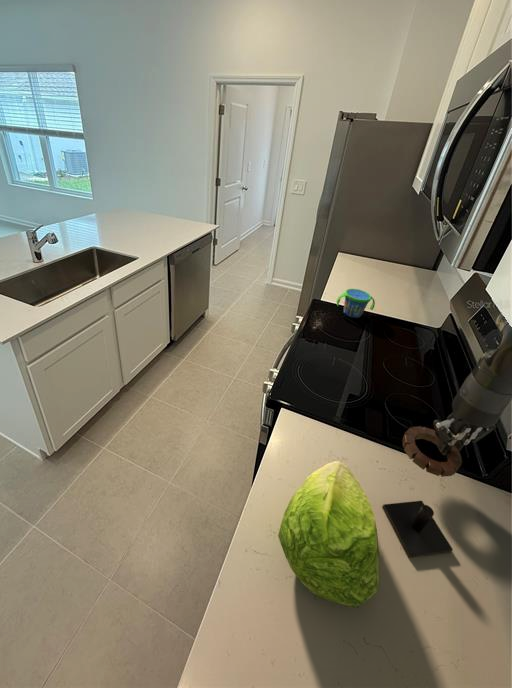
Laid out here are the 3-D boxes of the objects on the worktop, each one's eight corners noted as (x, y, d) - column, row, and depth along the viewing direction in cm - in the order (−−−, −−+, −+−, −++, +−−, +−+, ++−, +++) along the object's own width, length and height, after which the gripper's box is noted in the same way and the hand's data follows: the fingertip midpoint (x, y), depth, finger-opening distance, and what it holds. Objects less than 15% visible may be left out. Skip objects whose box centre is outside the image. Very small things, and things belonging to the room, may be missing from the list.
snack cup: (368, 310, 140) (374, 291, 135) (372, 323, 131) (380, 302, 126) (332, 305, 142) (338, 286, 137) (335, 317, 133) (340, 297, 128)
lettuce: (378, 505, 67) (388, 454, 62) (374, 644, 47) (388, 584, 42) (300, 477, 74) (303, 429, 70) (268, 586, 54) (269, 529, 49)
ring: (434, 430, 75) (437, 425, 74) (470, 474, 66) (474, 468, 65) (392, 433, 74) (395, 427, 73) (422, 478, 65) (426, 472, 64)
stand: (419, 503, 67) (432, 484, 64) (450, 552, 60) (467, 534, 56) (381, 507, 66) (392, 488, 62) (408, 557, 58) (422, 539, 55)
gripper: (465, 414, 58) (430, 469, 67) (530, 410, 59) (487, 464, 68) (437, 385, 64) (409, 438, 73) (496, 382, 66) (461, 435, 74)
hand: (447, 451), depth 70 cm, fingers closed on ring, 2 cm apart
